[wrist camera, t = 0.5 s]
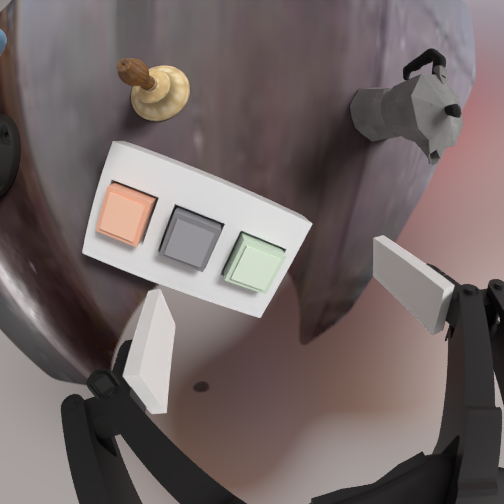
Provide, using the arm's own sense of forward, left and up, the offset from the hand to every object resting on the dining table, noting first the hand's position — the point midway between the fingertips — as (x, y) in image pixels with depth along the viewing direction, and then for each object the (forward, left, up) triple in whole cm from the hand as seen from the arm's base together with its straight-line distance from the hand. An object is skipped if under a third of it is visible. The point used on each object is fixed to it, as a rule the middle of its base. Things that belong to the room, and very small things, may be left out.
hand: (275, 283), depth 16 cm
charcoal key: (-4, -6, -21) cm, 22 cm away
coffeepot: (+13, +23, -25) cm, 36 cm away
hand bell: (-16, +10, -25) cm, 31 cm away
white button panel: (-4, -6, -24) cm, 26 cm away
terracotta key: (-13, -6, -21) cm, 26 cm away
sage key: (+5, -6, -21) cm, 22 cm away
